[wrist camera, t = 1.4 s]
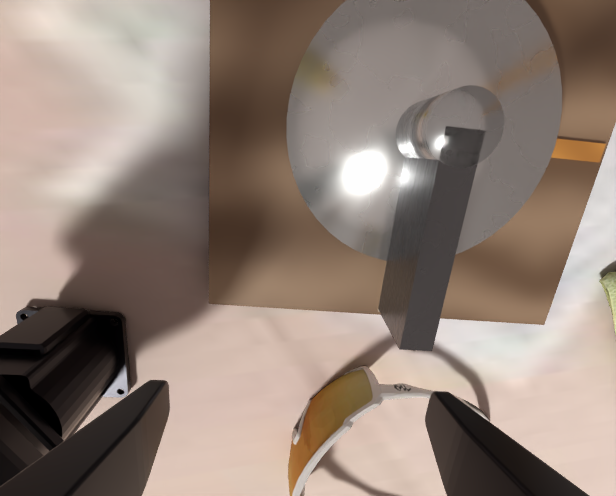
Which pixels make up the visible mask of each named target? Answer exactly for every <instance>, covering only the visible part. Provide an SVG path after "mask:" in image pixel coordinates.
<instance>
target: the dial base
mask: <svg viewBox="0 0 616 496" xmlns="http://www.w3.org/2000/svg"><path fill="white" fill-rule="evenodd" d="M345 1H346V0H210V135H209V304H221V305H237V306H253V307H269V308H285V309H301V310H317V311H332V312H348V313H364V314H380V315H381V313H380V312H379V310H378V306H379V301H380V295H381V290H382V284H383V278H384V273H385V267H386V261H385V260H381V259H378V258H374V257H370V256H368V255H365V254H363V253H361V252H358V251H356V250H354V249H352V248H351V247H349V246H347V245H346V244H344V243H342V242H341V241H340V240H338V239H337V238H336V237H335V236H333V235H332V234H331V233H330V232H329V231H328V230H327V229H326V228H325V227H324V226H323V225H322V224H321V223H320V222H319V221H318V220H317V219H316V217H315V216H314V214H313V213H312V212H311V210H310V209H309V208H308V206H307V204H306V202H305V201H304V199H303V197H302V195H301V193H300V191H299V189H298V186H297V184H296V181H295V178H294V176H293V172H292V168H291V164H290V160H289V155H288V147H287V138H286V137H287V112H288V104H289V97H290V93H291V90H292V86H293V82H294V78H295V75H296V73H297V70H298V68H299V65H300V63H301V60H302V58H303V56H304V54H305V52H306V50H307V48H308V47H309V45H310V43H311V41H312V39H313V38H314V36H315V35H316V34H317V32H318V31H319V29H320V28H321V27H322V25H323V24H324V22H325V21H326V20H327V19H328V18H329V17H330V16H331V15H332V14H333V13H334V11H335V10H336V9H337V8H338V7H339V6H340V5H341V4H342V3H344V2H345ZM525 1H526V2H527V3H528V4H529V6H530V7H531V8H532V9H533V10H534V12H535V13H536V14H537V15H538V17H539V19H540V20H541V22H542V24H543V25H544V27H545V29H546V31H547V32H548V34H549V37H550V39H551V42H552V44H553V47H554V49H555V52H556V56H557V60H558V64H559V68H560V75H561V84H562V112H561V120H560V128H559V132H558V136H557V140H556V144H555V148H554V150H553V153H552V156H551V158H550V161H549V164H548V166H547V168H546V170H545V172H544V174H543V176H542V178H541V180H540V182H539V184H538V185H537V187H536V188H535V190H534V191H533V193H532V194H531V196H530V197H529V199H528V200H527V201H526V202H525V204H524V205H523V206H522V207H521V209H520V210H519V211H518V212H517V213H516V214H515V215H514V216H513V217H512V218H511V219H510V220H509V221H508V222H507V223H506V224H505V225H504V226H503V227H501V228H500V229H499V230H498V231H497V232H495V233H494V234H493V235H491V236H490V237H488V238H487V239H485V240H484V241H482V242H481V243H479V244H477V245H475V246H473V247H471V248H469V249H467V250H465V251H463V252H461V253H458V254H455V259H454V263H453V267H452V271H451V275H450V279H449V283H448V287H447V291H446V295H445V300H444V304H443V308H442V312H441V316H440V318H444V319H459V320H475V321H491V322H507V323H523V324H539V325H544V324H545V321H546V318H547V315H548V312H549V310H550V307H551V304H552V301H553V298H554V295H555V293H556V290H557V287H558V284H559V281H560V278H561V276H562V273H563V270H564V267H565V264H566V261H567V259H568V256H569V253H570V250H571V247H572V244H573V242H574V239H575V236H576V233H577V230H578V227H579V225H580V222H581V219H582V216H583V213H584V210H585V208H586V205H587V202H588V199H589V196H590V193H591V191H592V188H593V185H594V182H595V179H596V176H597V174H598V171H599V168H600V165H601V162H602V159H603V157H604V154H605V151H606V148H607V145H608V142H609V140H610V137H611V134H612V131H613V128H614V125H615V123H616V0H525Z"/></svg>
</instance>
